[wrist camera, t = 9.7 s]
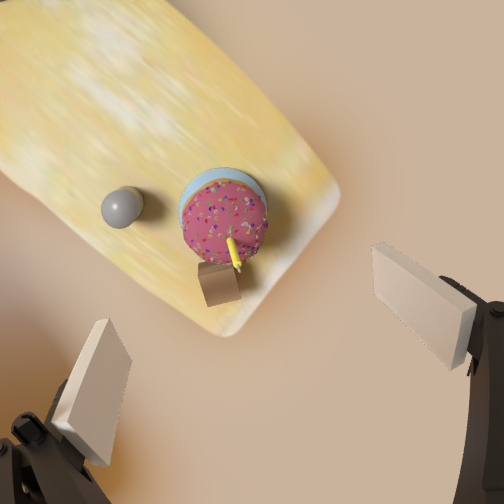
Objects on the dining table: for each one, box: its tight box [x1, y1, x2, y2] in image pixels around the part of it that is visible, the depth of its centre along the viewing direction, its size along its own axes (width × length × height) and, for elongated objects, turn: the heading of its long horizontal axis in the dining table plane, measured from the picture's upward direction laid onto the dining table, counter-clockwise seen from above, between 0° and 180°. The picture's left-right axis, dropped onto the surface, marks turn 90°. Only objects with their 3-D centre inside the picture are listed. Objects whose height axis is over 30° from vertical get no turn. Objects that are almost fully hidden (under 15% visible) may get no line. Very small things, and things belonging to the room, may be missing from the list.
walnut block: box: [198, 261, 242, 307], centre depth 36 cm, size 4×4×4 cm
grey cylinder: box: [101, 186, 144, 229], centre depth 31 cm, size 4×4×4 cm
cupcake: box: [181, 178, 268, 273], centre depth 28 cm, size 9×8×12 cm
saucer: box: [179, 168, 267, 230], centre depth 35 cm, size 10×10×1 cm
